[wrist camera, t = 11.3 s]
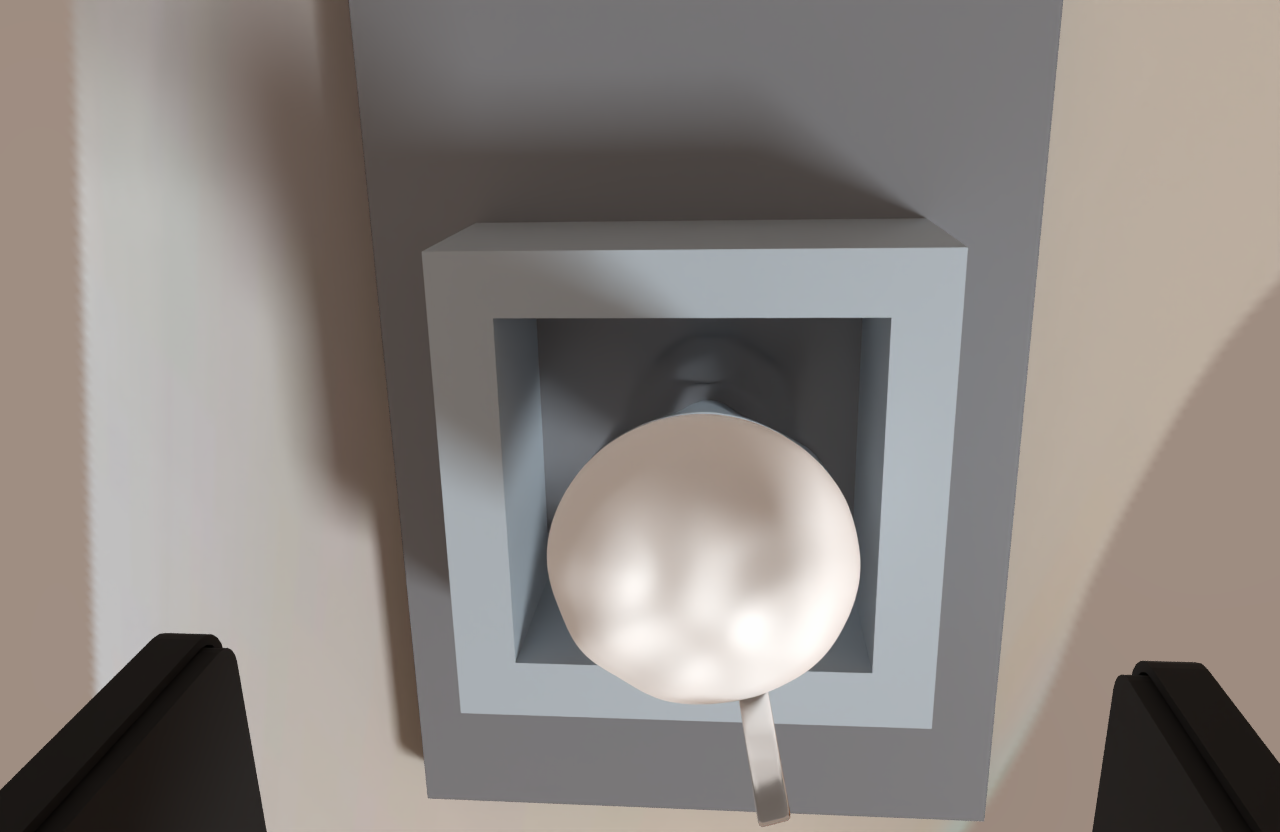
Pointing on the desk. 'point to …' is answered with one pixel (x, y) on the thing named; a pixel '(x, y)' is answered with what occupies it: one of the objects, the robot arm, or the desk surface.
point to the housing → (705, 307)
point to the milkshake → (708, 545)
